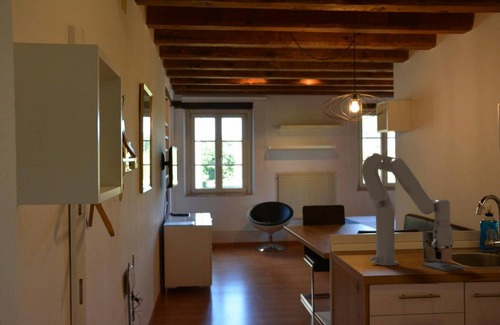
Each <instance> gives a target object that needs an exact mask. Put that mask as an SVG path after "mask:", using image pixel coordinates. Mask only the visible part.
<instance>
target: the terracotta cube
mask: <svg viewBox="0 0 500 325" xmlns="http://www.w3.org/2000/svg"><path fill="white" fill-rule="evenodd" d="M437 248H438V247H437ZM440 252H441V259H436V258H435V251H434V259H435V260H440V261H441V262H449V261H453V257H452V256H453V248H446V247H445V246H441V250H440Z"/></svg>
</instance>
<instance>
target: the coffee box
mask: <svg viewBox="0 0 500 325" xmlns="http://www.w3.org/2000/svg"><path fill="white" fill-rule="evenodd" d="M433 231H434V230H432V231H431V230H423V231H422V261H423V262H433V263H434V262H442V261H440V260H435V259H434V249H433V247H432V246H431V244H432V242H433Z"/></svg>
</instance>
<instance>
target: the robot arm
mask: <svg viewBox="0 0 500 325" xmlns="http://www.w3.org/2000/svg"><path fill="white" fill-rule="evenodd" d="M379 170H380V171H384V172H387V173H388V172H389V173H392V174H393V176H394V177H395V179H396V180H397V182H398V183H399V184H400V186H401V188H403V190H404V191H405V192H406V194H407V195H408V196H409V197H410V199H411V200H412V201H413V203H414V205H415V206H416V207H417V209H418V210H419V211H420V213H422V214H423V215H431V214H434V216H433V217H434V218H433V219H434V222H433V223H434V227H433V230H432V231H433V242H432V244H431V246H432V247H433V249H434V251H435V258H436V259H441V252H440V250H441V247H446V248H451V249H453V245H454V236H453V235H454V234H453V229H452V226H451V204H450V200H448V199H431V198H430V197H429V196H428V193H427V192H426V191H425V190H424V188H423V186H422V185H421V183H420V181H419V180H418V178H417V177H416V176H415V174H414V173H413V172H412V171H411V169H410V167H409V166H408V165H407V163H406V162H405V161H404V159H402V158H400V157H392V156H388V155H385V154H380V153H379V152H378V153H377V152H374V153H370V154H369V155H368V156H367V157H366V158H365V160H364V161H363V163H362V166H361V174H362V178H363V181H364V184H365V186H366V189H367V192H368V195H369V196H368V197H369V199H370V200H371V201H372V203H373V206H374V209H375V232H376V233H375V238H376V239H375V245H376V248H375V249H376V251H375V252H376V254H374V256H370V257H369V258H368V259H369V261H371V262H373V264H374V265H375V264H376V265H380V266H387V267H388V266H389V267H391V266H398V264H399V261H397V260H396V258H395V256H396V254H395V253H396V252H395V250H396V248H395V247H396V246H395V243H396V242H395V237H396V235H395V230H396V229H395V224H396V223H395V222H396V221H395V217H396V216H395V215H396V213H395V207H394V205H393V203H392V200H391V198H390V195H389V193H388V190H387V189H386V187H384V185H383V181H382V180H381V179H382V178H381V177H380V174H379ZM437 247H438V248H437Z"/></svg>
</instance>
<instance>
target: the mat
mask: <svg viewBox="0 0 500 325" xmlns="http://www.w3.org/2000/svg"><path fill="white" fill-rule="evenodd" d="M421 267H425V268H428V269H433V270H437V271H441V272H451V271H457V270H458V269H459V270H464V269H463V268H464V266H462V265H457V264H452V263H448V262H446V261H441V262H434V261H433V262H427V263H422V264H421Z"/></svg>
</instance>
